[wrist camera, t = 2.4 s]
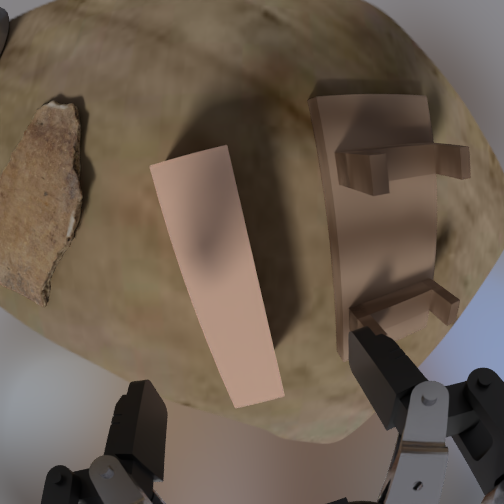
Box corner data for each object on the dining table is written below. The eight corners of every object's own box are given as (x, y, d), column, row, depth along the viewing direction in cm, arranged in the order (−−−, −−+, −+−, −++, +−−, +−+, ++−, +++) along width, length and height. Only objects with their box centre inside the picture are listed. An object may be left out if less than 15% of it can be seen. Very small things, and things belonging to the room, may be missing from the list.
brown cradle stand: (417, 318, 24) (450, 350, 19) (336, 351, 23) (363, 394, 18) (413, 97, 16) (465, 92, 11) (307, 100, 16) (347, 84, 11)
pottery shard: (31, 99, 14) (-3, 280, 17) (14, 92, 11) (-19, 291, 14) (120, 118, 16) (73, 314, 19) (110, 111, 14) (61, 330, 16)
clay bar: (228, 362, 22) (235, 408, 17) (165, 161, 16) (149, 165, 11) (270, 351, 22) (284, 396, 18) (221, 146, 16) (227, 144, 12)
